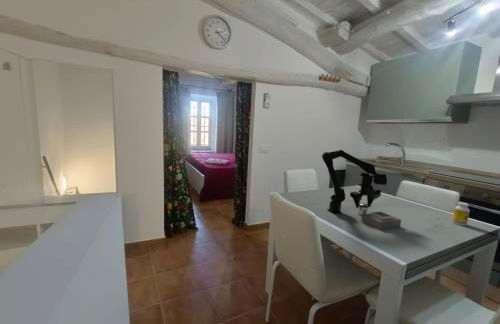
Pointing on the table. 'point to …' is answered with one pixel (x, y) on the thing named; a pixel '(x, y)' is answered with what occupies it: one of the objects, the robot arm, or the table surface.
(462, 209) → the supplement bottle
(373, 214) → the grey flat block
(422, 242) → the table surface
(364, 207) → the lens
